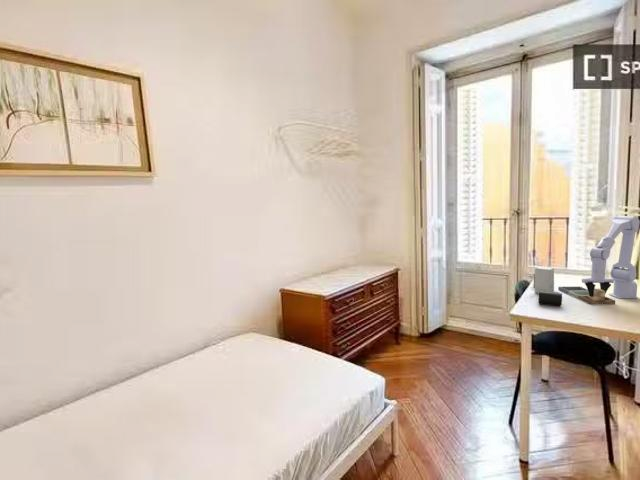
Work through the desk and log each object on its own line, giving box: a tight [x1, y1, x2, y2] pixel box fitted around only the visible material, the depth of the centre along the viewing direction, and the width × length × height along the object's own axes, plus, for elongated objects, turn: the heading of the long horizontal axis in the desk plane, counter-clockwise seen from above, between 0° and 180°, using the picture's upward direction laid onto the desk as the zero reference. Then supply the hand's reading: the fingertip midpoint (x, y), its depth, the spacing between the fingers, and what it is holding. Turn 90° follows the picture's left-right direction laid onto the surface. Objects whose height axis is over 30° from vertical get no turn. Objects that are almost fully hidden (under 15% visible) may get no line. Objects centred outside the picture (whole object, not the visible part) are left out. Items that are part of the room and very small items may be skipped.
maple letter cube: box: [588, 287, 606, 300], centre depth 191 cm, size 5×5×5 cm
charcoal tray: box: [558, 286, 588, 295], centre depth 211 cm, size 12×9×2 cm
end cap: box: [538, 291, 563, 307], centre depth 188 cm, size 10×7×7 cm
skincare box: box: [534, 266, 555, 294], centre depth 209 cm, size 8×6×15 cm
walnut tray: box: [578, 296, 616, 305], centre depth 191 cm, size 12×9×2 cm
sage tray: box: [567, 291, 588, 300], centre depth 201 cm, size 12×9×2 cm
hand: (596, 296), depth 191 cm, fingers closed on maple letter cube, 5 cm apart
